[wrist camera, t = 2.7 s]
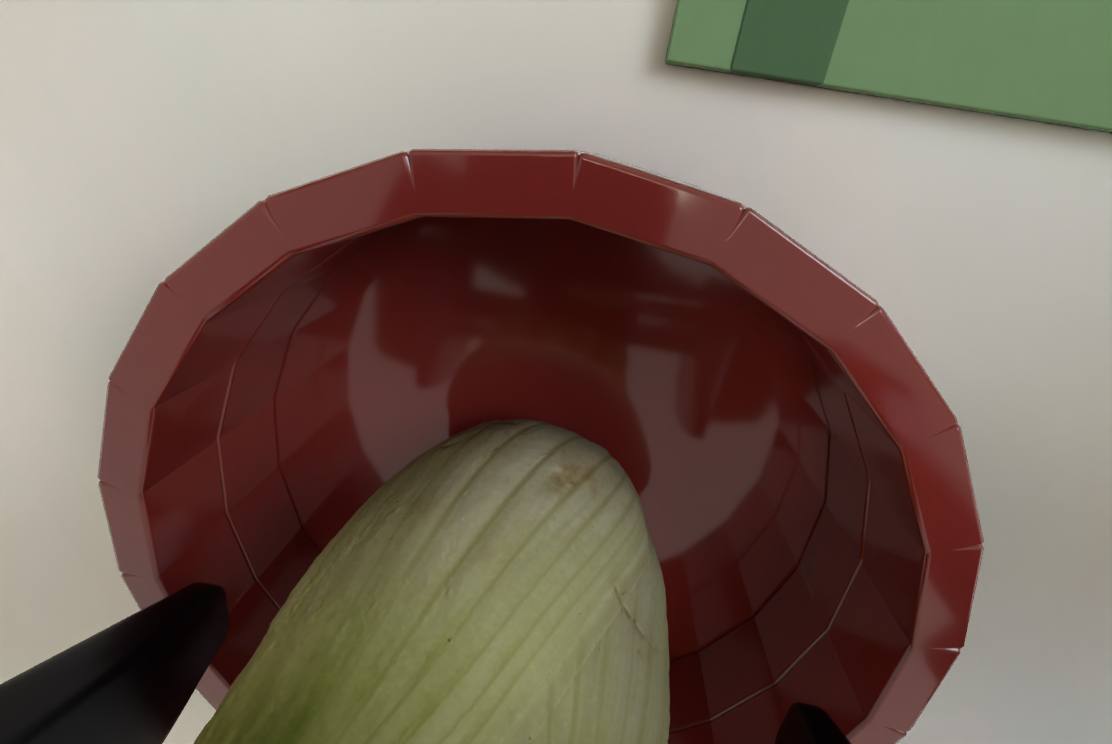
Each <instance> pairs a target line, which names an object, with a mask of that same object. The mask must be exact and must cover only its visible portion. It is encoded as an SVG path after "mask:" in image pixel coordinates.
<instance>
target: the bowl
mask: <svg viewBox="0 0 1112 744" xmlns="http://www.w3.org/2000/svg"><path fill="white" fill-rule="evenodd" d="M109 380H110V382H109V383H108V387H107V396H106V406H105V415H104V424H103V433H102V443H101V452H100V461H99V470H98V478H99V479H100V481H99V488H100V493H101V497H102V501H103V505H104V509H105V514H106V518H107V522H108V526H109V531H110V535H111V539H112V543H113V548H114V552H115V556H116V560H117V565H118V569H119V570H120V571H121V572H122V578H123V580H124V582H125V583H126V585H127V587H128V589H129V591H130V592H131V594H132V596H133V598H134V599H135V601H136V603H137V605H138V607H139V608H140V610H143V609H145V608H146V607H148V606H150V605H152V604H154V603H156V602H158V601H160V600H162V599H164V598H165V597H167V596H169V595H171V594H173V593H175V592H177V591H179V590H181V589H183V588H184V587H186V586H188V585H190V584H193V583H196V582H205V583H210V584H215V585H220V586H222V587H223V588H224V590H225V592H226V599H227V606H228V614H229V629H228V632H227V635H226V637H225V639H224V641H223V643H222V644H221V646H220V648H219V649H218V651H217V653H216V655H215V656H214V658H213V660H212V661H211V663H210V665H209V666H208V668H207V670H206V671H205V673H204V675H203V677H202V678H201V680H200V682H199V683H198V685H197V687H196V689H197V690H198V691H199V692H200V694H201V695H202V696H203V697H204V698H205V699H206V700H207V701H208V702H209V703H210V704H211V706H212V707H213V708H214V709H215V710H216V711H217V709H218V707H219V705H220V703H221V702H222V700H223V699H224V697H225V695H226V694H227V692H228V690H229V688H230V687H231V685H232V683H233V682H234V681H235V679H236V678H237V676H238V675H239V674H240V673H241V671H242V670H243V669H244V667H245V666H246V665H247V663H248V662H249V661H250V659H251V658H252V656H253V655H254V653H255V651H256V649H257V648H258V647H259V645H260V644H261V642H262V639H263V638H264V636H265V635H266V634H267V631H268V629H269V625H270V623H271V621H272V620H273V619H274V617H275V616H276V615H277V613H278V612H279V610H280V609H281V607H282V606H283V605H284V604H285V602H286V600H287V598H288V596H289V594H290V593H291V591H292V590H293V589H294V587H295V586H296V585H297V584H298V582H299V581H300V579H301V578H302V577H303V576H304V574H305V573H306V572H307V570H308V569H309V567H310V566H311V565H312V563H313V562H314V560H315V559H316V558H317V557H318V556H319V555H320V554H321V552H322V551H323V550H324V549H325V547H326V546H327V545H328V543H329V542H330V541H331V540H332V539H333V538H334V537H335V536H336V535H337V534H338V532H339V531H340V530H341V529H342V528H343V527H344V525H345V524H346V523H347V522H348V521H349V520H350V519H351V518H352V516H353V515H354V514H355V513H356V512H357V511H358V509H359V508H360V507H361V506H362V505H363V504H364V503H365V502H366V501H367V500H368V499H369V498H370V497H371V496H372V495H373V494H374V493H375V492H376V491H377V490H378V489H379V488H380V487H381V486H382V485H383V484H385V483H386V482H387V481H388V480H389V479H390V478H392V477H393V476H394V475H395V474H397V473H398V472H399V471H400V470H402V469H403V468H404V467H405V466H407V465H408V464H409V463H410V462H411V461H413V460H414V459H416V458H417V457H418V456H420V455H421V454H423V453H425V452H426V451H428V450H429V449H431V448H433V447H435V446H436V445H437V444H439V443H441V442H442V441H444V440H446V439H448V438H450V437H451V436H453V435H455V434H458V433H460V432H462V431H464V430H467V429H469V428H471V427H474V426H475V425H478V424H481V423H483V422H490V421H494V420H501V421H504V420H513V419H530V420H536V421H545V422H548V423H551V424H553V425H557V426H560V427H562V428H565V429H568V430H570V431H573V432H576V433H578V434H579V435H581V436H582V437H584V438H586V439H587V440H589V441H591V442H594V443H596V444H598V445H600V446H602V447H603V448H605V449H606V450H607V451H608V452H609V454H610V455H611V456H612V457H613V458H614V459H615V460H616V461H618V462H619V464H620V465H621V467H622V468H623V469H624V471H625V472H626V474H627V475H628V477H629V478H630V480H631V482H632V484H633V486H634V487H635V489H636V491H637V493H638V496H639V499H640V502H641V506H642V509H643V514H644V518H645V522H646V526H647V529H648V533H649V535H650V537H651V540H652V543H653V545H654V548H655V550H656V554H657V556H658V560H659V564H660V567H661V570H662V575H663V580H664V585H665V595H666V617H667V623H668V645H669V666H670V667H669V689H670V709H669V712H670V725H669V738H668V741H667V742H668V744H775V739H776V735H777V732H778V730H779V728H780V726H781V724H782V722H783V720H784V718H785V716H786V714H787V712H788V710H789V708H790V706H791V705H792V704H793V703H795V702H800V703H805V704H810V705H815V706H818V707H820V708H822V709H823V710H824V711H826V712H827V714H828V715H829V716H830V717H831V718H832V720H833V721H834V722H835V723H836V725H837V726H838V727H839V728H840V730H841V731H842V732H843V733H844V735H845V736H846V737H847V738H848V740H849V741H850V742H851V743H852V744H896V743H897V742H898V741H900V740H901V739H902V738H903V737H904V736H905V735H906V731H909V730H911V728H912V727H913V725H914V724H915V722H916V721H917V719H918V717H919V716H920V714H921V713H922V711H923V710H924V708H925V707H926V705H927V704H928V702H929V700H930V699H931V697H932V696H933V694H934V693H935V691H936V690H937V688H938V686H939V685H940V683H941V682H942V680H943V679H944V677H945V676H946V674H947V673H948V671H949V669H950V668H951V666H952V665H953V663H954V662H955V660H956V659H957V657H958V656H959V654H960V648H962V647H963V646H964V642H965V637H966V632H967V627H968V622H969V618H970V613H971V608H972V603H973V598H974V593H975V588H976V583H977V579H978V574H979V569H980V564H981V559H982V554H983V549H984V548H983V545H982V543H983V542H984V540H983V535H982V530H981V525H980V520H979V515H978V510H977V505H976V500H975V495H974V491H973V486H972V481H971V476H970V471H969V466H968V461H967V456H966V451H965V446H964V442H963V437H962V432H961V427H960V426H959V425H958V424H957V418H956V417H955V415H954V414H953V412H952V411H951V409H950V408H949V406H948V405H947V403H946V402H945V400H944V399H943V397H942V396H941V394H940V393H939V391H938V390H937V388H936V387H935V385H934V384H933V382H932V381H931V379H930V378H929V376H928V375H927V373H926V372H925V370H924V369H923V367H922V366H921V364H920V363H919V361H918V360H917V358H916V357H915V355H914V354H913V352H912V351H911V349H910V348H909V346H908V345H907V343H906V342H905V340H904V339H903V337H902V336H901V334H900V333H899V331H898V330H897V328H896V327H895V325H894V324H893V322H892V321H891V319H890V318H889V316H888V315H887V313H886V312H885V310H884V309H883V308H882V307H881V306H879V305H878V303H877V301H876V300H875V299H874V298H872V297H871V296H870V295H868V294H867V293H866V292H864V291H863V290H862V289H860V288H859V287H857V286H856V285H855V284H853V283H852V282H851V281H849V280H848V279H847V278H845V277H844V276H843V275H841V274H840V273H838V272H837V271H836V270H834V269H833V268H832V267H830V266H829V265H828V264H826V263H825V262H824V261H822V260H821V259H819V258H818V257H817V256H815V255H814V254H813V253H811V252H810V251H809V250H807V249H806V248H805V247H803V246H802V245H800V244H799V243H798V242H796V241H795V240H794V239H792V238H791V237H790V236H788V235H787V234H785V233H784V232H783V231H781V230H780V229H779V228H777V227H776V226H775V225H773V224H772V223H771V222H769V221H768V220H766V219H765V218H764V217H762V216H761V215H760V214H758V213H757V212H756V211H754V210H753V209H752V208H749V207H747V206H744V205H742V204H741V203H739V202H737V201H734V200H731V199H729V198H726V197H723V196H721V195H718V194H715V193H713V192H710V191H707V190H705V189H702V188H700V187H697V186H694V185H691V184H688V183H685V182H682V181H679V180H676V179H673V178H670V177H666V176H663V175H660V174H657V173H654V172H651V171H648V170H645V169H642V168H639V167H636V166H633V165H630V164H627V163H624V162H621V161H618V160H615V159H612V158H609V157H605V156H602V155H599V154H596V153H590V152H584V151H576V150H471V149H413V150H410V151H401V152H398V153H395V154H392V155H389V156H386V157H383V158H380V159H377V160H374V161H371V162H368V163H365V164H362V165H359V166H356V167H353V168H350V169H347V170H344V171H341V172H338V173H335V174H332V175H329V176H326V177H323V178H320V179H317V180H314V181H311V182H308V183H305V184H302V185H299V186H296V187H293V188H290V189H287V190H284V191H281V192H278V193H275V194H272V195H269V196H268V197H267V198H266V199H265V200H264V201H259V202H258V203H256V204H255V205H254V206H253V207H252V208H250V209H249V210H248V211H247V212H245V213H244V214H243V215H242V216H241V217H239V218H238V219H237V220H236V221H234V222H233V223H232V224H231V225H230V226H228V227H227V228H226V229H225V230H223V231H222V232H221V233H220V234H219V235H217V236H216V237H215V238H214V239H212V240H211V241H210V242H209V243H208V244H206V245H205V246H204V247H203V248H201V249H200V250H199V251H198V252H197V253H195V254H194V255H193V256H192V257H190V258H189V259H188V260H187V261H186V262H184V263H183V264H182V265H181V266H179V267H178V268H177V269H176V270H175V271H173V272H172V273H171V274H170V275H168V276H167V278H166V279H165V281H163V282H161V283H160V284H159V285H158V287H157V289H156V290H155V292H154V294H153V296H152V298H151V300H150V302H149V303H148V305H147V307H146V309H145V311H144V313H143V315H142V317H141V318H140V320H139V322H138V324H137V326H136V328H135V330H134V331H133V333H132V335H131V337H130V339H129V341H128V343H127V344H126V346H125V348H124V350H123V352H122V354H121V356H120V358H119V359H118V361H117V363H116V365H115V367H114V369H113V371H112V372H111V374H110V376H109Z"/></svg>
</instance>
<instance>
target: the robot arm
mask: <svg viewBox="0 0 1112 744" xmlns="http://www.w3.org/2000/svg"><path fill="white" fill-rule="evenodd" d="M228 629H229V614H228V606H227V599H226V592H225V590H224V588H223V587H222V586H220V585H215V584H210V583H205V582H196V583H193V584H190V585H188V586H186V587H184V588H183V589H181V590H179V591H177V592H175V593H173V594H171V595H169V596H167V597H165V598H164V599H162V600H160V601H158V602H156V603H154V604H152V605H150V606H148V607H146V608H145V609H143V610H141V611H139V612H137V613H135V614H133V615H131V616H129V617H127V618H126V619H124V620H122V621H120V622H118V623H116V624H114V625H112V626H110V627H109V628H107V629H105V630H103V631H101V632H99V633H97V634H95V635H93V636H91V637H90V638H88V639H86V640H84V641H82V642H80V643H78V644H76V645H74V646H72V647H71V648H69V649H67V650H65V651H63V652H61V653H59V654H57V655H55V656H53V657H52V658H50V659H48V660H46V661H44V662H42V663H40V664H38V665H36V666H34V667H33V668H31V669H29V670H27V671H25V672H23V673H21V674H19V675H17V676H16V677H14V678H12V679H10V680H8V681H6V682H4V683H2V684H0V744H162V743H163V742H164V740H165V738H166V737H167V735H168V734H169V732H170V730H171V729H172V727H173V726H174V724H175V722H176V721H177V719H178V717H179V716H180V714H181V712H182V710H183V709H184V707H185V705H186V704H187V702H188V700H189V699H190V697H191V695H192V694H193V692H194V690H195V688H196V687H197V685H198V683H199V682H200V680H201V678H202V677H203V675H204V673H205V671H206V670H207V668H208V666H209V665H210V663H211V661H212V660H213V658H214V656H215V655H216V653H217V651H218V649H219V648H220V646H221V644H222V643H223V641H224V639H225V637H226V635H227V632H228ZM775 744H852V743H851V742H850V741H849V740H848V738H847V737H846V736H845V735H844V733H843V732H842V731H841V730H840V728H839V727H838V726H837V725H836V723H835V722H834V721H833V720H832V718H831V717H830V716H829V715H828V714H827V712H826V711H824V710H823V709H822V708H820V707H818V706H815V705H810V704H805V703H800V702H795V703H793V704H792V705H791V706H790V708H789V710H788V712H787V714H786V716H785V718H784V720H783V722H782V724H781V726H780V728H779V730H778V732H777V735H776V739H775Z"/></svg>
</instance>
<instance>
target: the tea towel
mask: <svg viewBox="0 0 1112 744" xmlns="http://www.w3.org/2000/svg"><path fill="white" fill-rule="evenodd" d="M665 61H666V63H667V64H674V65H680V66H687V67H693V68H700V69H706V70H712V71H719V72H725V73H732V74H738V75H745V76H751V77H757V78H764V79H770V80H777V81H783V82H790V83H796V84H802V85H809V86H815V87H822V88H828V89H835V90H841V91H847V92H854V93H860V94H867V95H873V96H880V97H886V98H893V99H899V100H905V101H912V102H918V103H925V104H931V105H938V106H944V107H950V108H957V109H963V110H970V111H976V112H983V113H989V114H995V115H1002V116H1008V117H1015V118H1021V119H1028V120H1034V121H1040V122H1047V123H1053V124H1060V125H1066V126H1073V127H1079V128H1086V129H1092V130H1098V131H1105V132H1111V133H1112V0H678V1H677V6H676V11H675V16H674V21H673V26H672V31H671V35H670V40H669V45H668V50H667V55H666V60H665Z"/></svg>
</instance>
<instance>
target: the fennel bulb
mask: <svg viewBox="0 0 1112 744" xmlns="http://www.w3.org/2000/svg"><path fill="white" fill-rule="evenodd" d="M669 667H670V666H669V645H668V623H667V617H666V595H665V585H664V580H663V575H662V570H661V567H660V564H659V560H658V556H657V554H656V550H655V548H654V545H653V543H652V540H651V537H650V535H649V533H648V529H647V526H646V522H645V518H644V514H643V509H642V506H641V502H640V499H639V496H638V493H637V491H636V489H635V487H634V486H633V484H632V482H631V480H630V478H629V477H628V475H627V474H626V472H625V471H624V469H623V468H622V467H621V465H620V464H619V462H618V461H616V460H615V459H614V458H613V457H612V456H611V455H610V454H609V452H608V451H607V450H606V449H605V448H603V447H602V446H600V445H598V444H596V443H594V442H591V441H589V440H587V439H586V438H584V437H582V436H581V435H579V434H578V433H576V432H573V431H570V430H568V429H565V428H562V427H560V426H557V425H553V424H551V423H548V422H545V421H536V420H530V419H513V420H504V421H501V420H494V421H490V422H483V423H481V424H478V425H475V426H474V427H471V428H469V429H467V430H464V431H462V432H460V433H458V434H455V435H453V436H451V437H450V438H448V439H446V440H444V441H442V442H441V443H439V444H437V445H436V446H435V447H433V448H431V449H429V450H428V451H426V452H425V453H423V454H421V455H420V456H418V457H417V458H416V459H414V460H413V461H411V462H410V463H409V464H408V465H407V466H405V467H404V468H403V469H402V470H400V471H399V472H398V473H397V474H395V475H394V476H393V477H392V478H390V479H389V480H388V481H387V482H386V483H385V484H383V485H382V486H381V487H380V488H379V489H378V490H377V491H376V492H375V493H374V494H373V495H372V496H371V497H370V498H369V499H368V500H367V501H366V502H365V503H364V504H363V505H362V506H361V507H360V508H359V509H358V511H357V512H356V513H355V514H354V515H353V516H352V518H351V519H350V520H349V521H348V522H347V523H346V524H345V525H344V527H343V528H342V529H341V530H340V531H339V532H338V534H337V535H336V536H335V537H334V538H333V539H332V540H331V541H330V542H329V543H328V545H327V546H326V547H325V549H324V550H323V551H322V552H321V554H320V555H319V556H318V557H317V558H316V559H315V560H314V562H313V563H312V565H311V566H310V567H309V569H308V570H307V572H306V573H305V574H304V576H303V577H302V578H301V579H300V581H299V582H298V584H297V585H296V586H295V587H294V589H293V590H292V591H291V593H290V594H289V596H288V598H287V600H286V602H285V604H284V605H283V606H282V607H281V609H280V610H279V612H278V613H277V615H276V616H275V617H274V619H273V620H272V621H271V623H270V625H269V629H268V631H267V634H266V635H265V636H264V638H263V639H262V642H261V644H260V645H259V647H258V648H257V649H256V651H255V653H254V655H253V656H252V658H251V659H250V661H249V662H248V663H247V665H246V666H245V667H244V669H243V670H242V671H241V673H240V674H239V675H238V676H237V678H236V679H235V681H234V682H233V683H232V685H231V687H230V688H229V690H228V692H227V694H226V695H225V697H224V699H223V700H222V702H221V703H220V705H219V707H218V709H217V711H216V713H215V714H214V716H213V717H212V718H211V720H210V721H209V722H208V723H207V724H206V726H205V727H204V729H203V730H202V731H201V733H200V734H199V736H198V737H197V739H196V740H195V742H194V744H668V742H667V741H668V738H669V725H670V712H669V709H670V689H669Z"/></svg>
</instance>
